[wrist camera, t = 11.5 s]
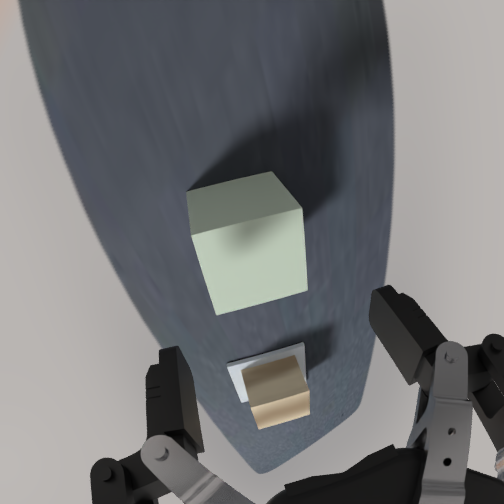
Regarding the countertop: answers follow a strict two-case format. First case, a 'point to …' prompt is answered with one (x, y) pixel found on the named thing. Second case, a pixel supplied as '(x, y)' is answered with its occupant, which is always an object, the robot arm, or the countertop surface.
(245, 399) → the white tile
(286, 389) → the maple block
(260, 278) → the sage block
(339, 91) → the countertop surface
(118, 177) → the countertop surface
